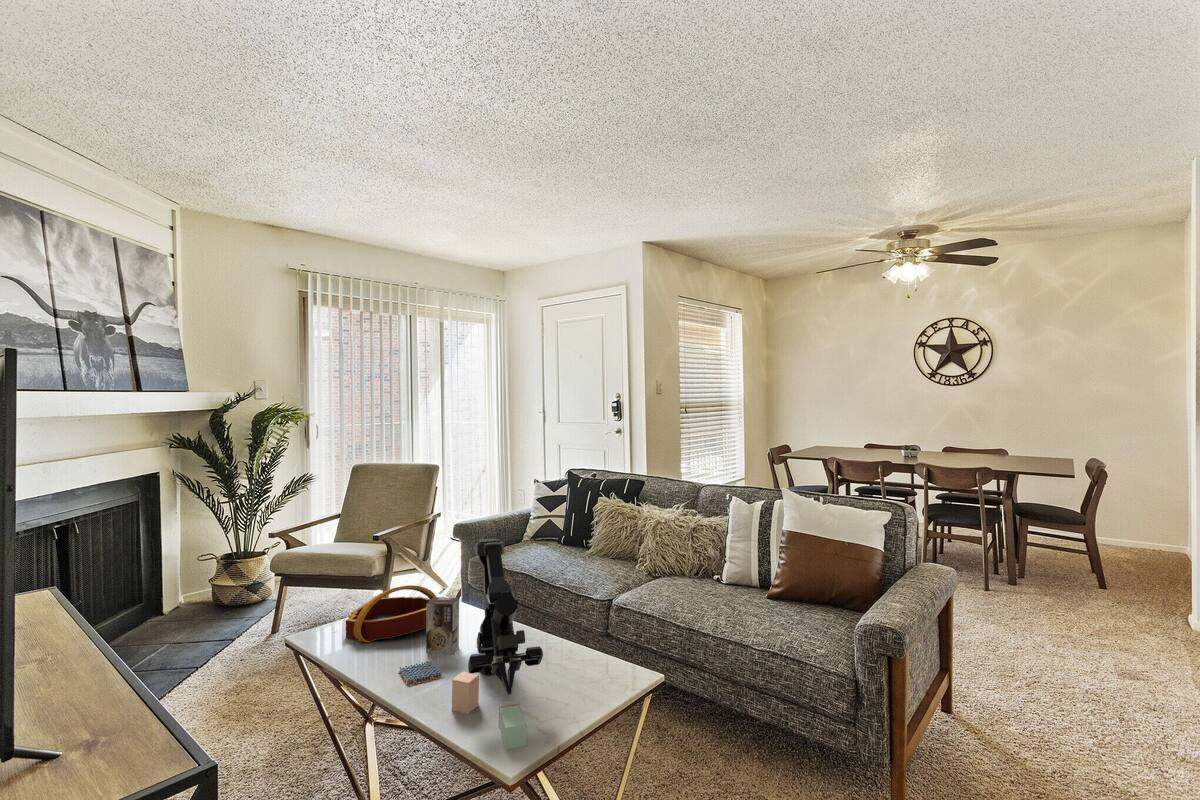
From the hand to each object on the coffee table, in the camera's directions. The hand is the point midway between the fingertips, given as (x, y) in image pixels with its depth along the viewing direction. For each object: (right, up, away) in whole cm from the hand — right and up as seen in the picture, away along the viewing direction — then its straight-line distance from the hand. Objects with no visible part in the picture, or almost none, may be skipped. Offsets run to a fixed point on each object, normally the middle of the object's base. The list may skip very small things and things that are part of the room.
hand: (509, 694), depth 144 cm
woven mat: (-30, -8, +26) cm, 41 cm away
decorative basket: (-49, -9, +62) cm, 80 cm away
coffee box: (-29, -8, +44) cm, 53 cm away
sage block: (0, -5, 0) cm, 5 cm away
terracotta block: (-13, -8, +8) cm, 17 cm away
